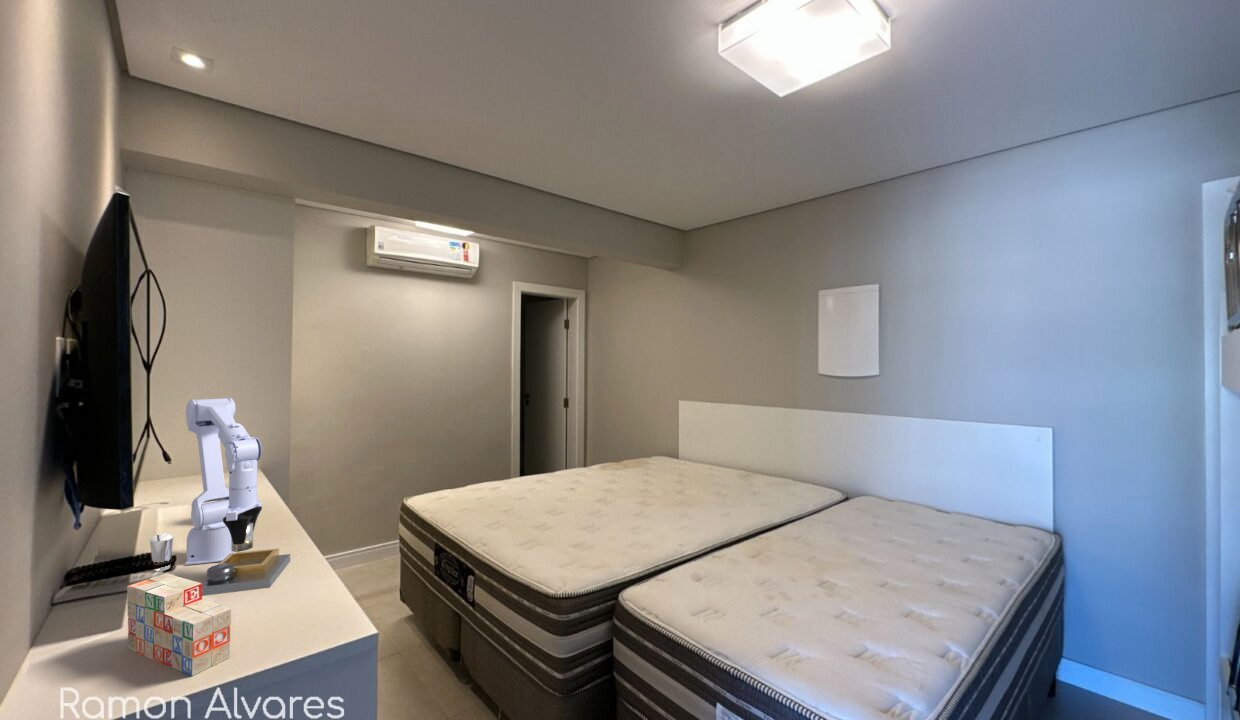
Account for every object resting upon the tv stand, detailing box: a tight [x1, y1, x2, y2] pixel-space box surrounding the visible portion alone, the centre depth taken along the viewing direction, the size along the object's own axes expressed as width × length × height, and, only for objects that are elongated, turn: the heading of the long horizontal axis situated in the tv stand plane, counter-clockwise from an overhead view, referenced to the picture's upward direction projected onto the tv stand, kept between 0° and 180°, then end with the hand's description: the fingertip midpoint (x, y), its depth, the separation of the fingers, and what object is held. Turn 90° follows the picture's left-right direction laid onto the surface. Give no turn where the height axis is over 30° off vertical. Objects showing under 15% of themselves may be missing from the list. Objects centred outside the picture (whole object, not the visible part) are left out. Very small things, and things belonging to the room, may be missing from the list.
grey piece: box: [202, 547, 291, 596], centre depth 125 cm, size 14×16×5 cm
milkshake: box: [149, 532, 175, 572], centre depth 129 cm, size 4×5×10 cm
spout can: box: [231, 522, 254, 553], centre depth 126 cm, size 4×4×7 cm
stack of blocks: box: [126, 572, 232, 677], centre depth 93 cm, size 21×6×12 cm, turn 67°
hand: (243, 540), depth 126 cm, fingers closed on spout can, 4 cm apart
